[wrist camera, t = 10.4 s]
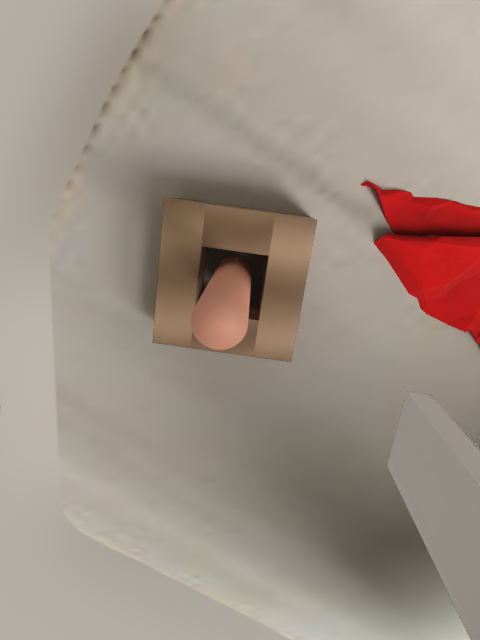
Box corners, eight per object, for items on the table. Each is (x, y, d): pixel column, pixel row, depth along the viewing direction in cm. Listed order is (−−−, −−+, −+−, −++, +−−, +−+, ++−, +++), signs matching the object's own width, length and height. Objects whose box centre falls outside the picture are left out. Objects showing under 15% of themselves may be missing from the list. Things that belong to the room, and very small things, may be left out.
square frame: (287, 344, 37) (291, 362, 33) (163, 327, 37) (152, 342, 33) (310, 217, 34) (317, 219, 30) (174, 198, 34) (164, 198, 30)
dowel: (248, 294, 36) (243, 353, 22) (214, 289, 36) (187, 345, 22) (253, 259, 35) (251, 298, 21) (218, 254, 35) (193, 290, 21)
